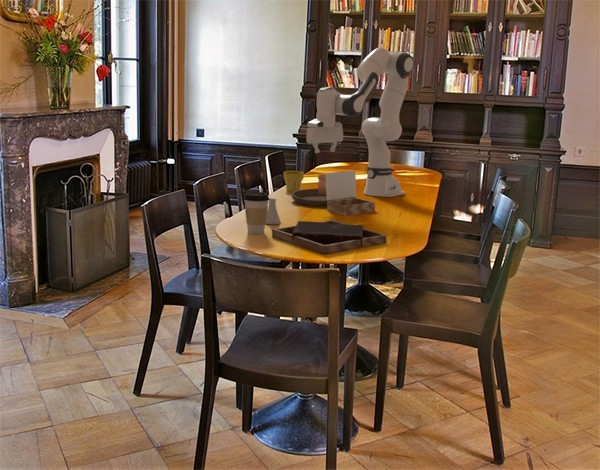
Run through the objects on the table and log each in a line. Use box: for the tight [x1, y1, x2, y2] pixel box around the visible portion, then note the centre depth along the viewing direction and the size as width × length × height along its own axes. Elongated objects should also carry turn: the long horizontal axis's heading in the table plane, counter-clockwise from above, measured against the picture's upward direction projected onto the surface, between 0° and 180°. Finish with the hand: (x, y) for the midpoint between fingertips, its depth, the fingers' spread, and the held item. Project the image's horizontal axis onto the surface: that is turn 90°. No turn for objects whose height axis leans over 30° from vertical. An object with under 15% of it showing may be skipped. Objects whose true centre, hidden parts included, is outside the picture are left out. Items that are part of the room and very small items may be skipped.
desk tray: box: [271, 219, 388, 256], centre depth 247 cm, size 30×30×3 cm
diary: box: [292, 220, 364, 247], centre depth 247 cm, size 19×25×5 cm
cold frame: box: [326, 197, 376, 216], centre depth 299 cm, size 18×15×12 cm
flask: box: [265, 198, 282, 226], centre depth 271 cm, size 7×7×10 cm
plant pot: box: [283, 170, 304, 193], centre depth 347 cm, size 10×10×10 cm
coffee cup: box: [242, 191, 270, 235], centre depth 254 cm, size 10×10×15 cm
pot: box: [317, 173, 327, 195], centre depth 318 cm, size 6×6×9 cm
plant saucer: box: [290, 188, 356, 208], centre depth 320 cm, size 31×31×5 cm
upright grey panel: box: [324, 170, 358, 200], centre depth 302 cm, size 18×12×1 cm
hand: (324, 152), depth 315 cm, fingers open, 8 cm apart
